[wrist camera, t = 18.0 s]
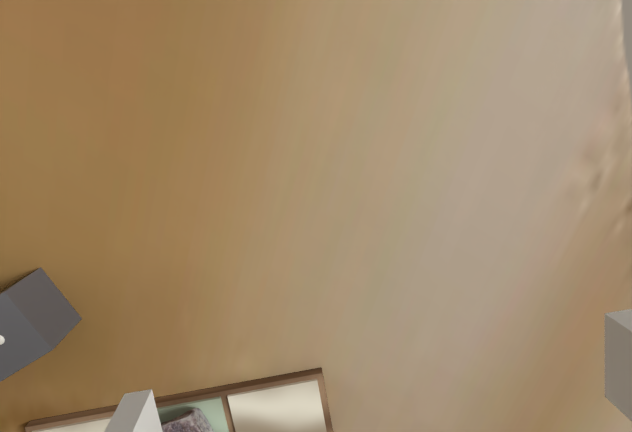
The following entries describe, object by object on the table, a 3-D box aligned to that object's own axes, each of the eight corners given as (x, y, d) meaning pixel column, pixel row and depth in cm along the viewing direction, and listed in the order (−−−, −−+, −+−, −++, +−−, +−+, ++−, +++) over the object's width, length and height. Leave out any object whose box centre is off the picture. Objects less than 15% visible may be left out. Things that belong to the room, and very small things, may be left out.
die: (-13, 300, 45) (-59, 331, 39) (41, 267, 44) (2, 292, 38) (31, 352, 46) (-7, 389, 40) (83, 320, 46) (53, 353, 40)
